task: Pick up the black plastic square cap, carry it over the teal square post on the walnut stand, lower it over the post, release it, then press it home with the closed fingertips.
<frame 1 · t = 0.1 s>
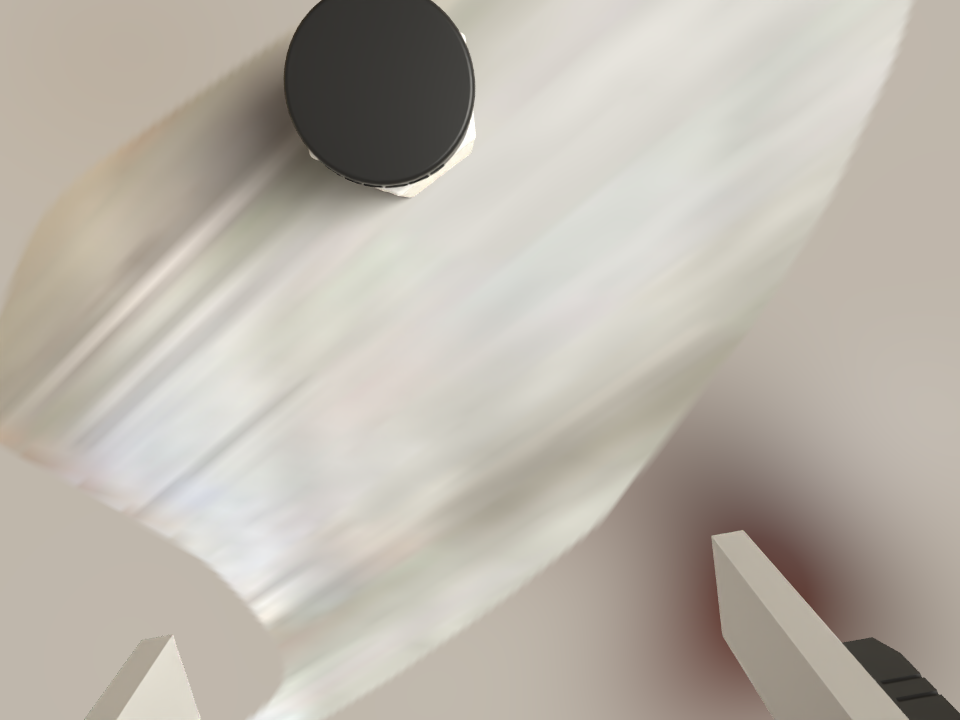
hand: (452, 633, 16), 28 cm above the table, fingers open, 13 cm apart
jar: (402, 121, 40), on the table
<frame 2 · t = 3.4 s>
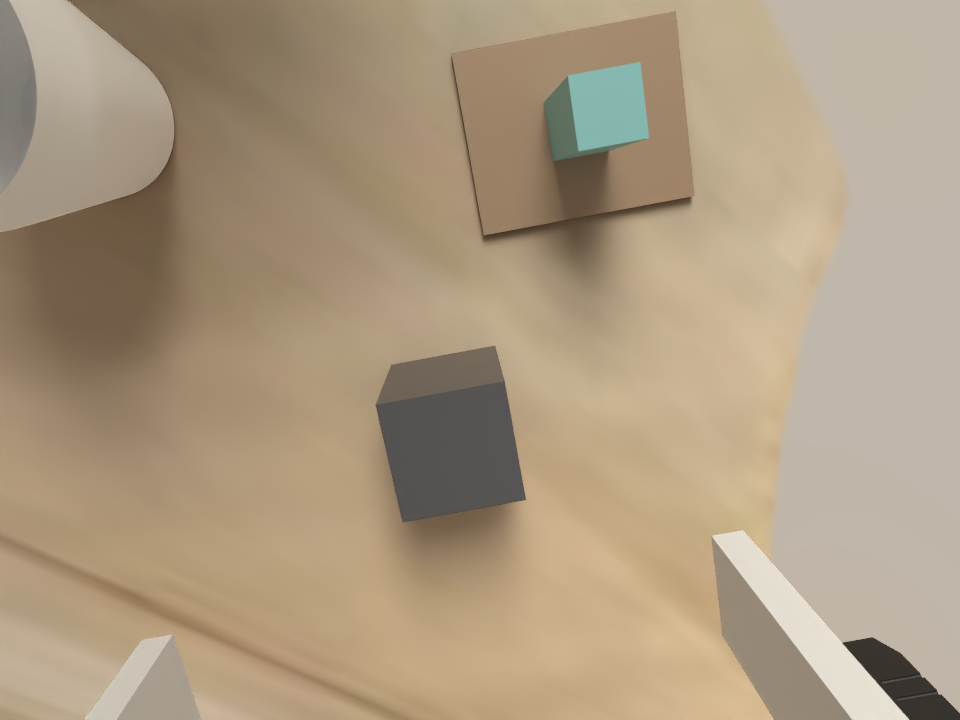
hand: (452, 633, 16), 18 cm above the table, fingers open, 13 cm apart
cup: (102, 122, 30), on the table
post: (575, 127, 31), on the table
cap: (453, 405, 34), on the table
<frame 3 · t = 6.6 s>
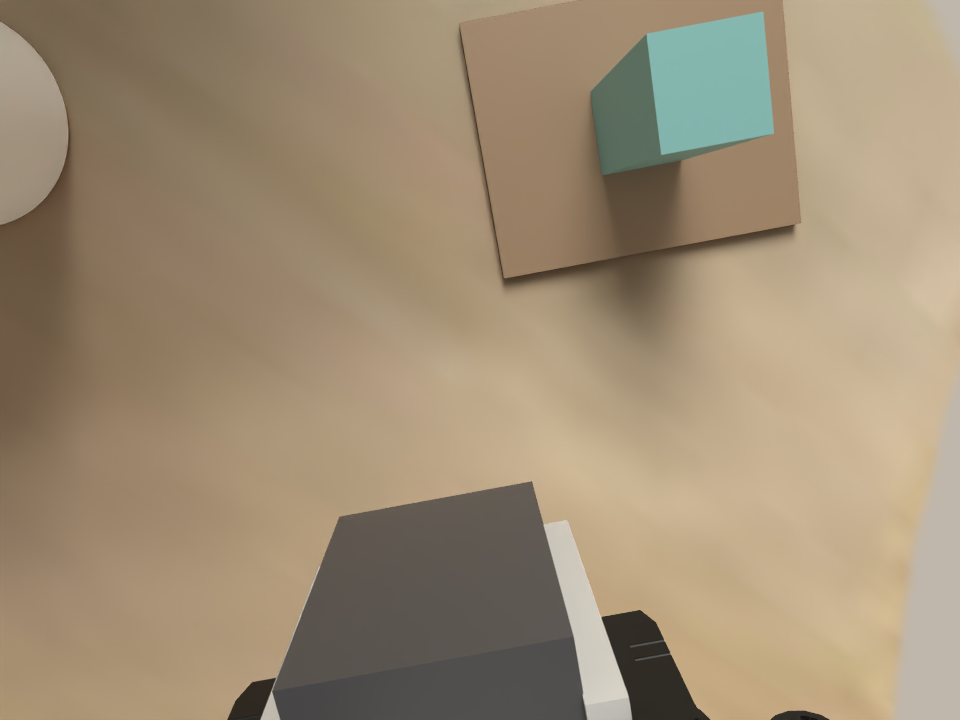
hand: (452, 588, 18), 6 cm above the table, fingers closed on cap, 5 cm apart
post: (633, 128, 22), on the table
cap: (453, 585, 18), point 6 cm above the table, touching gripper
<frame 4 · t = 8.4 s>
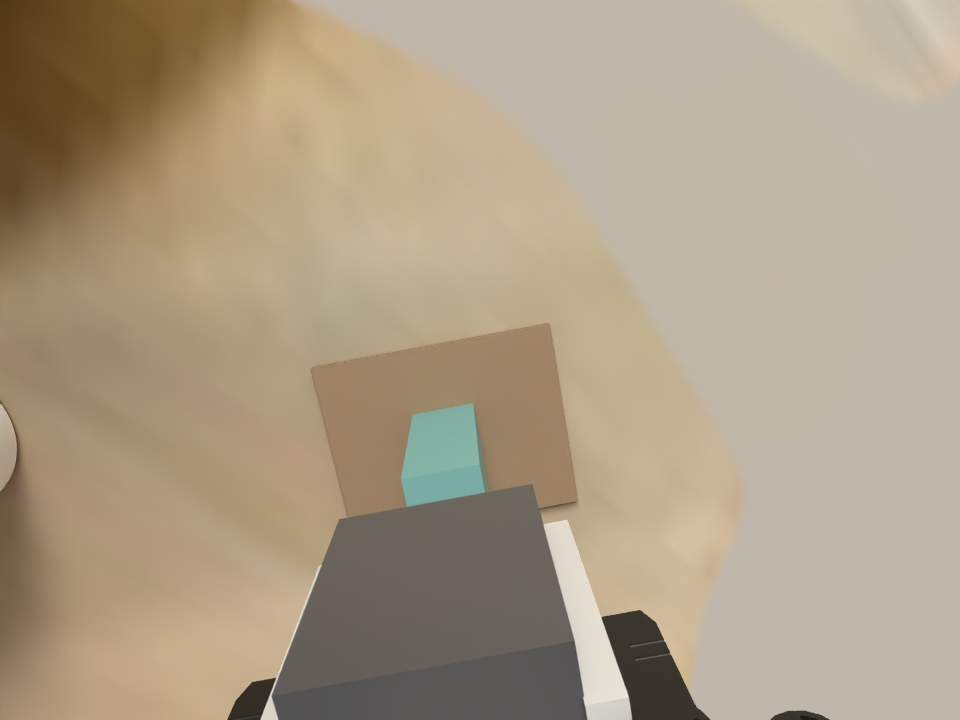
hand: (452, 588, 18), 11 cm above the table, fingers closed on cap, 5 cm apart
post: (448, 434, 29), on the table
cap: (454, 588, 18), point 11 cm above the table, touching gripper
when the fingers open (2 cm above the table, at t = 10.3 s): cap stays where it is, resting on post.
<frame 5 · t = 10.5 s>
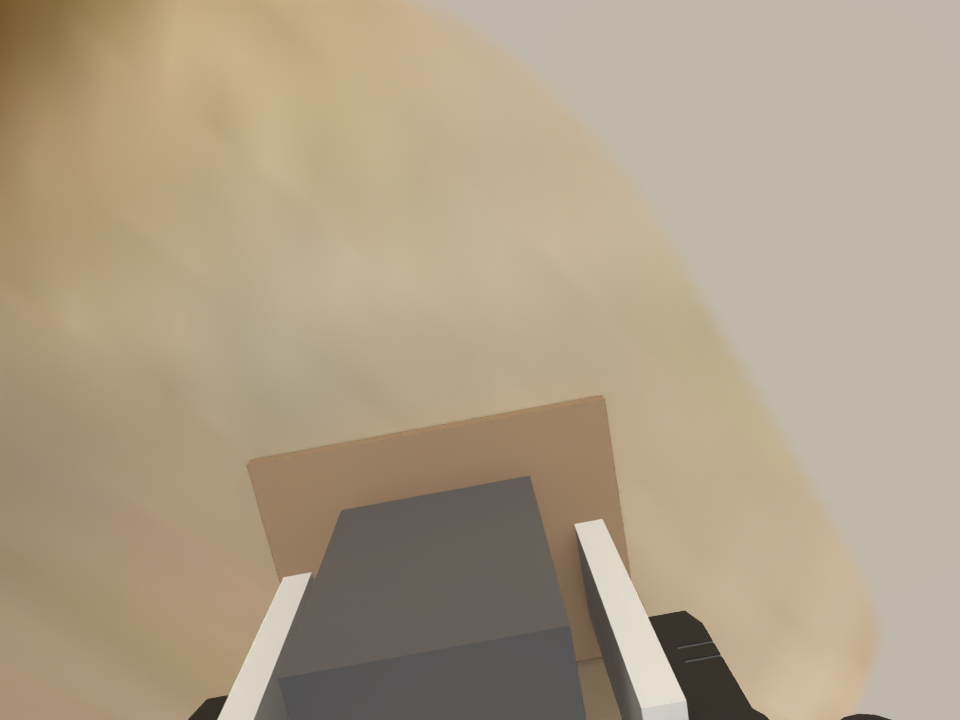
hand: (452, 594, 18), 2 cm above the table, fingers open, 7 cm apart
post: (452, 554, 20), on the table
cap: (453, 577, 19), point 1 cm above the table, touching post
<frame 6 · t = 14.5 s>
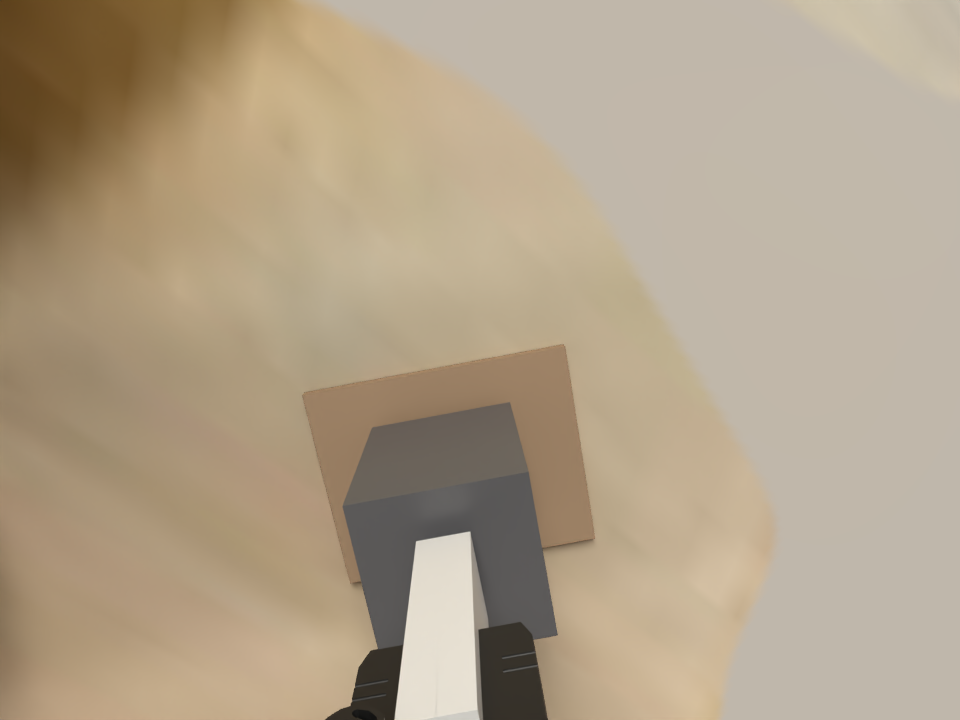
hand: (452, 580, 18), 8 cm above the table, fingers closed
post: (453, 465, 26), on the table
cap: (454, 478, 25), point 1 cm above the table, touching post
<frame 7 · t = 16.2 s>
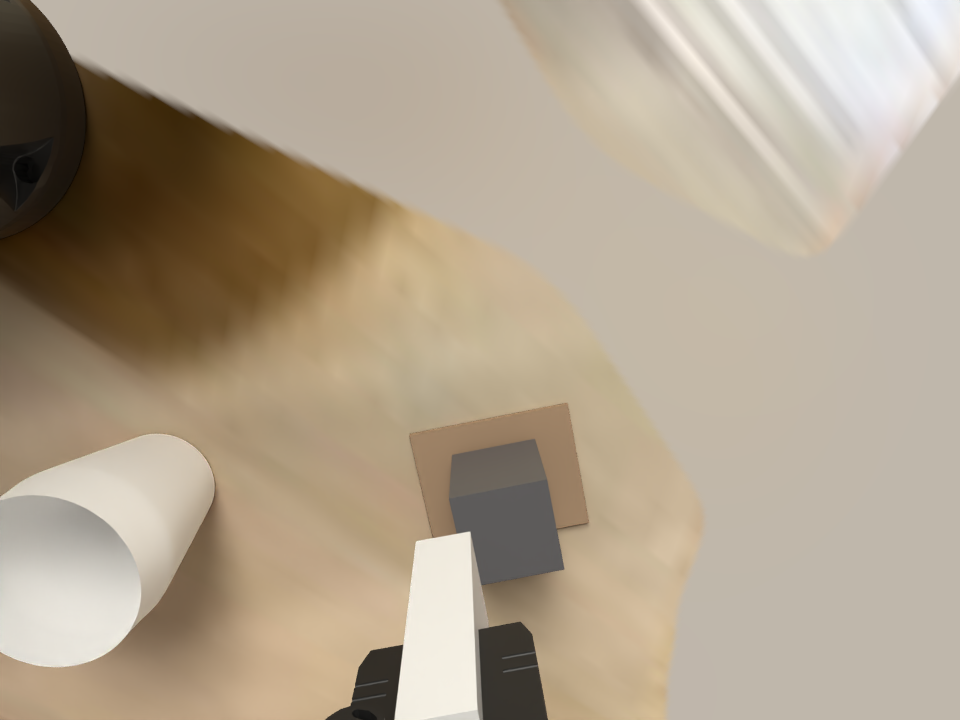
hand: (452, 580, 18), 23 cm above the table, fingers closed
cup: (164, 481, 42), on the table
post: (500, 477, 43), on the table
cap: (501, 485, 42), point 1 cm above the table, touching post
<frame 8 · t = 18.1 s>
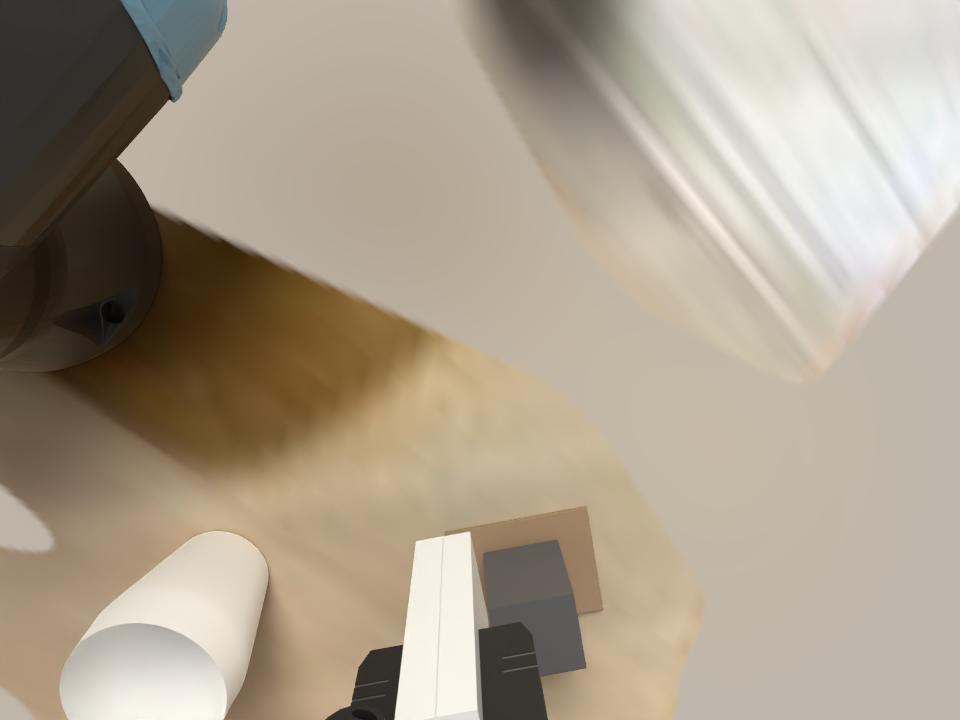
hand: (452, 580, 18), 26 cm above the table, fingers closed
cup: (222, 571, 47), on the table
post: (524, 569, 48), on the table
cap: (526, 579, 47), point 1 cm above the table, touching post
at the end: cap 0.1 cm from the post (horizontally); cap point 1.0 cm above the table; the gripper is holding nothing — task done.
